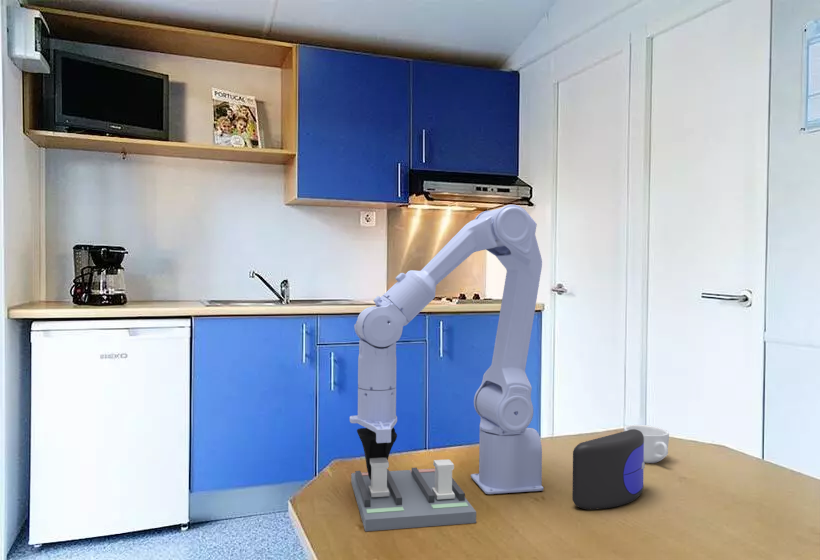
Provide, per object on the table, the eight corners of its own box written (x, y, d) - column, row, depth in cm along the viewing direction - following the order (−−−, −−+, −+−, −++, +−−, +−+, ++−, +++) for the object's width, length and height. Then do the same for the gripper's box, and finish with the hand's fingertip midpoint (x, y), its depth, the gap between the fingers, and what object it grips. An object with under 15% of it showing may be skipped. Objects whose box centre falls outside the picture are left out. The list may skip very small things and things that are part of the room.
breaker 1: (386, 488, 85) (386, 456, 85) (389, 496, 82) (389, 463, 82) (368, 489, 85) (368, 457, 85) (371, 497, 82) (371, 464, 82)
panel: (442, 477, 95) (442, 462, 95) (476, 522, 78) (476, 504, 78) (351, 482, 92) (351, 467, 92) (365, 531, 75) (365, 512, 75)
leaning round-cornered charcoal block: (596, 519, 80) (597, 450, 80) (569, 508, 83) (570, 442, 83) (660, 493, 89) (660, 432, 89) (633, 484, 93) (633, 426, 93)
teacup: (615, 453, 109) (615, 425, 109) (651, 451, 111) (651, 423, 111) (646, 471, 100) (647, 440, 100) (686, 469, 101) (686, 438, 101)
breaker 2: (449, 490, 85) (449, 458, 85) (454, 498, 82) (455, 465, 82) (432, 491, 84) (432, 459, 84) (437, 499, 81) (437, 466, 81)
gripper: (346, 379, 93) (345, 463, 93) (355, 397, 78) (354, 497, 78) (389, 378, 94) (388, 461, 94) (406, 396, 80) (405, 494, 80)
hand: (376, 477), depth 86 cm, fingers closed
